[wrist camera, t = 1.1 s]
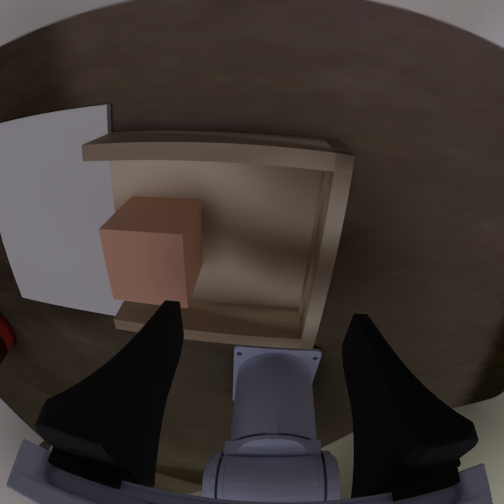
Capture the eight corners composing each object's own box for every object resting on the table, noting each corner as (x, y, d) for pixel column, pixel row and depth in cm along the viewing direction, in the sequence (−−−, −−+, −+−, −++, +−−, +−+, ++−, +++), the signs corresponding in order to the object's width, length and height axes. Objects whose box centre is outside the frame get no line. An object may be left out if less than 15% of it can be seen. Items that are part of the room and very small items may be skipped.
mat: (136, 314, 27) (134, 318, 26) (25, 294, 27) (22, 297, 27) (110, 103, 18) (106, 104, 17) (-15, 127, 18) (-20, 128, 17)
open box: (308, 313, 26) (312, 349, 22) (132, 297, 26) (116, 328, 22) (339, 141, 18) (355, 155, 15) (111, 132, 19) (81, 145, 15)
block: (202, 263, 23) (187, 308, 19) (139, 258, 23) (113, 299, 19) (201, 199, 20) (182, 234, 16) (131, 196, 20) (98, 229, 16)
